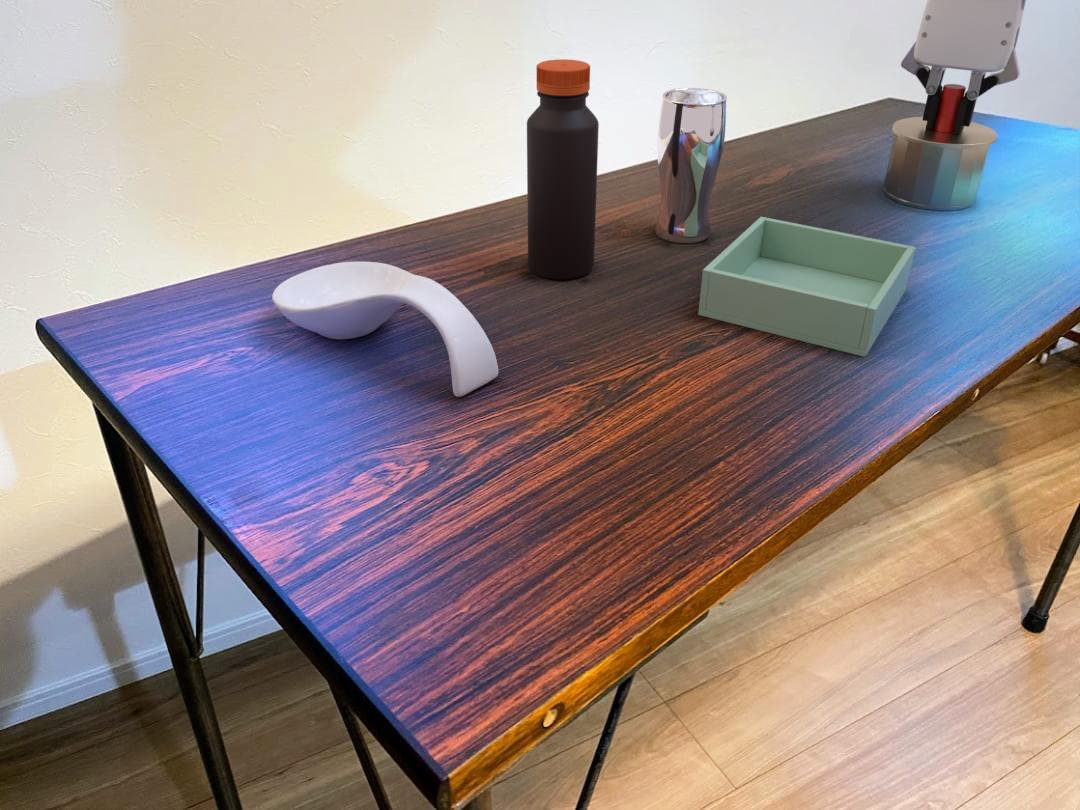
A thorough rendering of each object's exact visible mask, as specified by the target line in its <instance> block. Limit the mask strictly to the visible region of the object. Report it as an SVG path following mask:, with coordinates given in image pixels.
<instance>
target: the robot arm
mask: <svg viewBox="0 0 1080 810" xmlns="http://www.w3.org/2000/svg"><path fill="white" fill-rule="evenodd" d="M1025 6H1026V0H927V1H926V4H925V7H924V11H923V13H922V18H921V21H920V24H919V28H918V31H917V36H916V40H915V42H914V43H913V45H912V46H911V48H910V49H909V51H908V52H907V53H906V55H905V56H904V58H903V59H902V60H901V62H900V66H901V68H902V69H904V70H906V71H907V72H909V73H910V74H911V75H914V76H915V77H916V78H917V79H918V81H919V82H920V84H921V85H922V87H923V88H924V89H925V93H926V95H927V97H926V101H925V106H924V110H923V115H922V117H923V121H927V125H926V130H928V131H930V130H932V129H933V128H934V125H935V121H936V117H937V112H938V108H939V104H940V99H941V95H942V91H943V86H942V85H943V82H944V81H943V80H944V77H945V73H946V69H952V70H961V71H971V72H970V77H969V82H968V87H967V90H966V91H965V94H964V97H963V98H962V99H961V101H960V105H959V109H958V113H957V117H956V122H955V126H954V130H953V133H954V134H956V135H959V134H960V133H961V132H962V130H963V128H964V126H967V127H969V126H970V123H971V122H972V119H973V116H974V111H975V107H976V104H977V101H978V98H979V97H980V96H982V95H984V94H985V93H987V92H988V91H989V90H991V89H992V88H994V87H995V86H999V85H1003V84H1007V83H1010V82H1013V81H1016V80H1017V79H1018V78H1019V76H1020V74H1021V72H1020V67H1019V62H1018V56H1017V53H1016V47H1017V43H1018V39H1019V35H1020V30H1021V26H1022V22H1023V16H1024V12H1025ZM930 67H931V68H930ZM987 73H991V74H989V75H987ZM986 75H987V76H986Z"/></svg>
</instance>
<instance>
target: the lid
mask: <svg viewBox="0 0 1080 810" xmlns="http://www.w3.org/2000/svg"><path fill="white" fill-rule="evenodd" d="M942 87H943V89H942V95H941V99H940V104H939V108H938V112H937V117H936V121H935V125H934V128H933V129H932V130H930V131H928V130H926V125H927V121H923V116H914V117H905V118H902V119H898V120H896V121H895V122H894V123H893V124H892V128H891V131H892V133H893V134H895V135H897V136H898V137H900V138H902V139H905V140H907V141H910V142H914V143H918V144H922V145H927V146H933V147H940V148H952V149H972V148H981V147H986V146H989V145H991V146H992V145H994V144H995V143H996V142H997V138H998V133H997V132H996V131H995V130H994V129H992V128H991V127H988V126H986V125H983V124H981V123H977V122H974V121H971V123H970V126H969V127H967V126H964V128H963V130H962V132H961V133H960V134H959V135H956V134H954V133H953V130H954V126H955V122H956V117H957V113H958V109H959V105H960V101H961V99H962V98H963V97H964V96H965V93H966V91H967V90H966V89H967V87H966V86H965V85H962V84H958V83H947V84H944V85H943V86H942Z"/></svg>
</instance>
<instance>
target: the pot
mask: <svg viewBox="0 0 1080 810" xmlns="http://www.w3.org/2000/svg"><path fill="white" fill-rule="evenodd" d="M893 134H894V133H893ZM991 146H992V145H989V146H986V147H981V148H972V149H952V148H940V147H933V146H927V145H922V144H918V143H914V142H910V141H907V140H905V139H902V138H900V137H898V136H897V135H895V134H894V135H893V140H892V145H891V150H890V154H889V158H888V163H887V168H886V172H885V178H884V183H883V194H884V195H885V196H886V197H887V198H888V199H890V200H892V201H894V202H896V203H899V204H901V205H903V206H907V207H910V208H915V209H922V210H926V211H927V210H928V211H929V210H930V211H941V212H943V211H945V212H947V211H948V212H949V211H958V210H965V209H967V208H970V207H972V206H973V205H974V204H975V203H976V200H977V198H978V194H979V191H980V188H981V183H982V179H983V176H984V174H985V173H984V172H985V168H986V165H987V161H988V159H989V158H988V157H989V154H990V150H991Z"/></svg>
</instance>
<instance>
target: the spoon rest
mask: <svg viewBox="0 0 1080 810" xmlns="http://www.w3.org/2000/svg"><path fill="white" fill-rule="evenodd" d="M271 298H272V303H273V304H274V306H275V307H276V309H277V310H278V311H279V313H281V314H282V315H283V316H284V317H285V318H286V319H287V320H288V321H290V322H292V323H293V324H294V325H297V326H299V327H301V328H303V329H305V330H308V331H310V332H314V333H317V334H318V335H320V336H322V337H325V338H327V339H333V340H348V339H356V338H360V337H363V336H366V335H369V334H371V333H373V332H374V331H376V330H377V329H378V328H379V327H380V326H381V325H382V324H384V323H385V322H387V321H388V320H389V319H390V318H391V317H392V316H394V314H396V313H397V311H398V310H399V309H400V307H401V306H402V304H406V305H409V306H411V307H413V308H415V309H416V310H418V311H419V312H420V313H422V314H423V315H424V316H425V317H426V318H428V319H429V321H431V323H432V324H433V325H434V326H435V327H436V329H437V330H438V333H440V336H441V337H442V340H443V342H444V344H445V347H446V350H447V354H448V359H449V364H450V373H451V384H452V385H451V386H452V392H453V393H452V394H453V395H454V396H455V397H458V398H460V397H464V396H465V395H467V394H469V393H471V392H473V391H474V390H477V389H479V388H480V387H483V386H484V385H486V384H489V383H490V382H491V381H493V380H494V379H496V378H497V377H498V375H499V366H498V365H499V364H498V361H497V357H496V353H495V350H494V347H493V346H492V344H491V341H490V339H489V337H488V335H486V332H485V331H484V329H483V328H482V325H481V324H479V323H480V322H478V320H477V318H476V317H475V316H474V315H473V314H472V313H471V311H470V310H469V309H468V308H467V307H466V306H465V305H464V304H463V303H462V302H461V300H459V299H458V298H457V297H456V296H455V295H454V294H453V293H452V292H451V291H449V290H448V289H447V288H446V287H444V286H443V285H442V284H440V283H438V282H437V281H435V280H433V279H431V278H428V277H426V276H422V275H417V274H413V273H411V272H409V271H407V270H405V269H402V268H400V267H397V266H395V265H392V264H388V263H384V262H383V263H382V262H376V261H343V262H337V263H331V264H326V265H321V266H318V267H315V268H311V269H309V270H305V271H303V272H301V273H298V274H296V275H293V276H291V277H289V278H287V279H286V280H284V281H283V282H281V283H280V284H279V285H278V286H277V287H275V288H274V290H273V292H272V296H271Z"/></svg>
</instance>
